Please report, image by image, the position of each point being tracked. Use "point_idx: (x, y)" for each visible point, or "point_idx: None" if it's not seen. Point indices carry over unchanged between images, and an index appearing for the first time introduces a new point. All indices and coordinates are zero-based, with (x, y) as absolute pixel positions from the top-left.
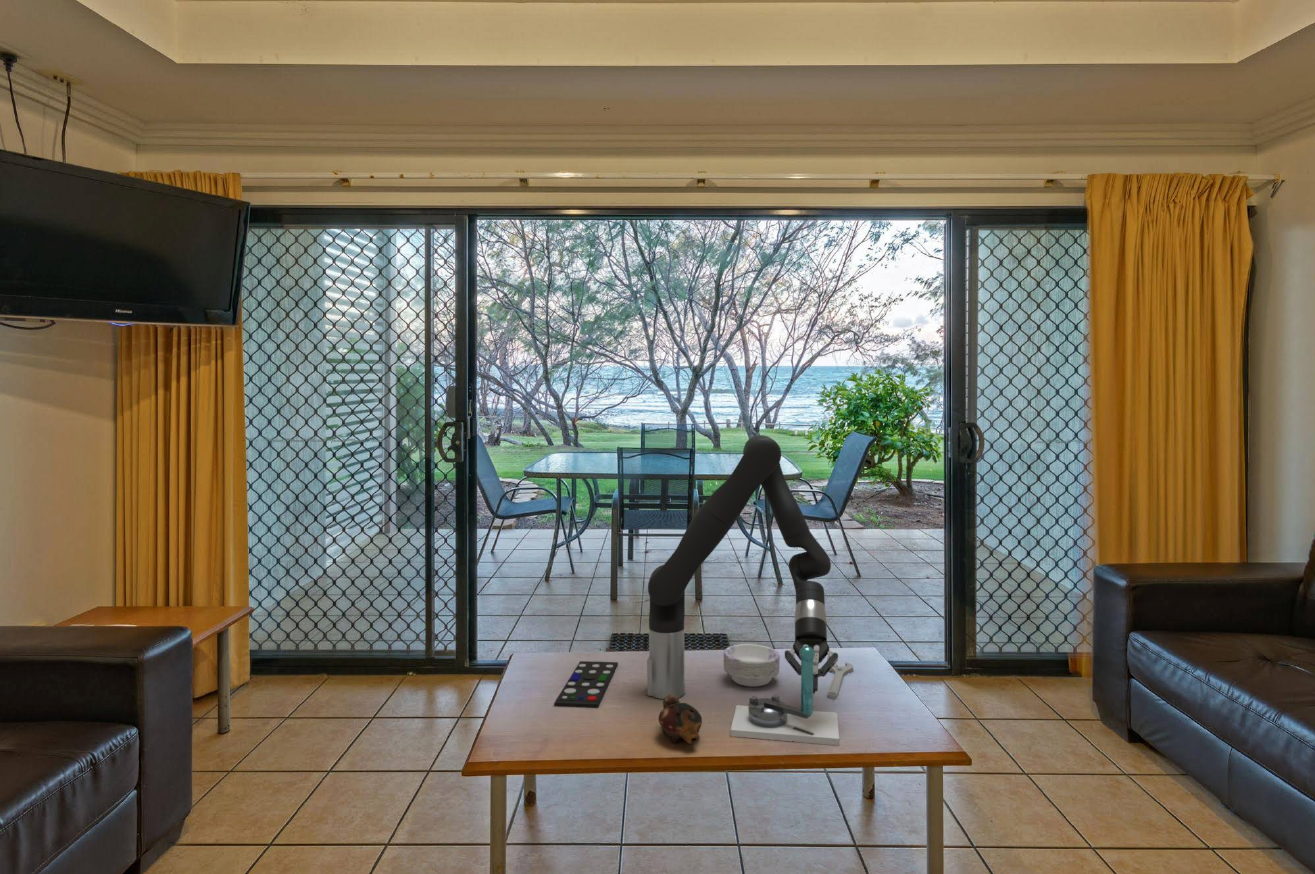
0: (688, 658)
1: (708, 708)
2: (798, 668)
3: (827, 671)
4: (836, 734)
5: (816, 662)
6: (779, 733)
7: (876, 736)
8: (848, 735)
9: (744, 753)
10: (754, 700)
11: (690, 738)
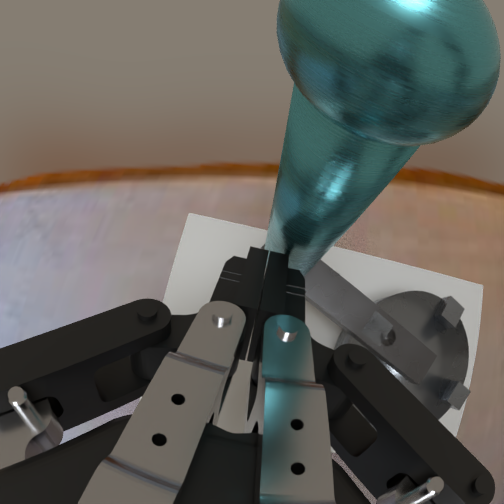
0: None
1: (491, 445)
2: (366, 362)
3: (111, 364)
4: (187, 242)
5: (187, 361)
6: (370, 258)
7: (73, 272)
8: (142, 284)
9: (442, 196)
10: (457, 381)
11: None
